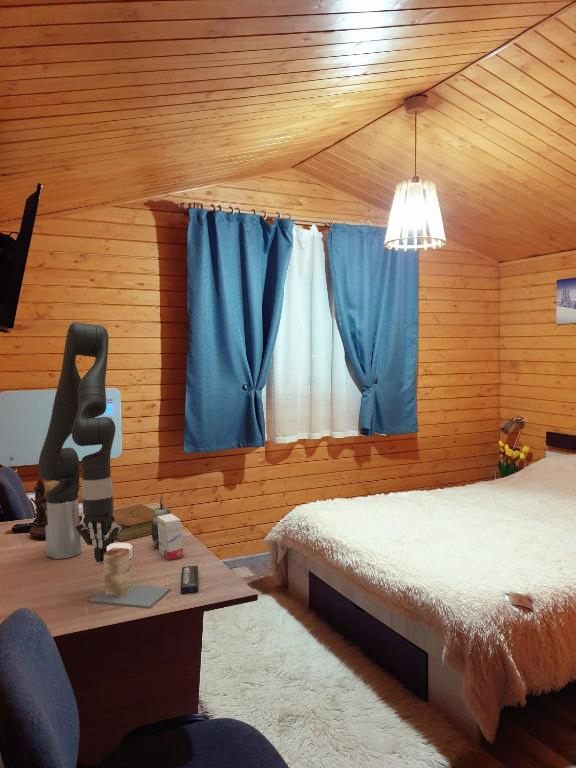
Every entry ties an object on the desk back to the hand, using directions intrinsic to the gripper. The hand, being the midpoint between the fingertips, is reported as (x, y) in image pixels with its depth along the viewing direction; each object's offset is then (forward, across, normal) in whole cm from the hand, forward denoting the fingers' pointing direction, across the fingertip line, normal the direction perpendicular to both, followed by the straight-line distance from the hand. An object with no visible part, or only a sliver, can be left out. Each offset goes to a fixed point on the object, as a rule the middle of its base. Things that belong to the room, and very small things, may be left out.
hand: (101, 560), depth 149 cm
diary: (+9, -22, +52) cm, 57 cm away
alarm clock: (+9, -3, +38) cm, 39 cm away
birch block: (+8, +4, 0) cm, 9 cm away
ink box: (+9, +4, +29) cm, 31 cm away
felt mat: (+9, +8, 0) cm, 12 cm away
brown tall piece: (+9, -48, +41) cm, 63 cm away
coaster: (+9, -12, +24) cm, 28 cm away
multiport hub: (+9, +19, +11) cm, 24 cm away
